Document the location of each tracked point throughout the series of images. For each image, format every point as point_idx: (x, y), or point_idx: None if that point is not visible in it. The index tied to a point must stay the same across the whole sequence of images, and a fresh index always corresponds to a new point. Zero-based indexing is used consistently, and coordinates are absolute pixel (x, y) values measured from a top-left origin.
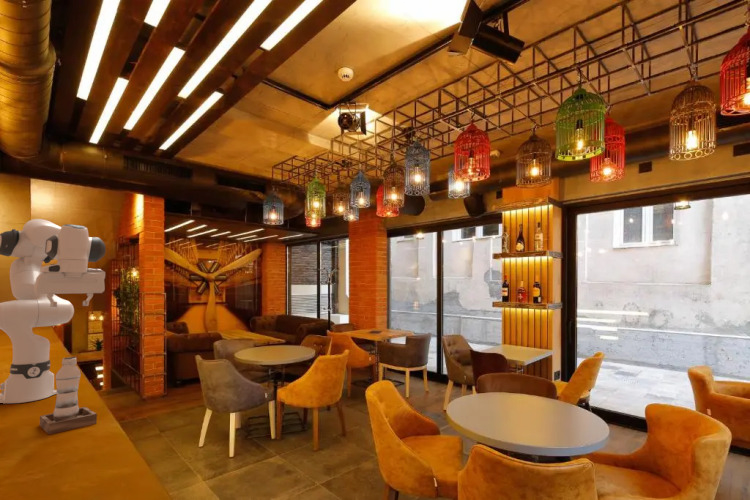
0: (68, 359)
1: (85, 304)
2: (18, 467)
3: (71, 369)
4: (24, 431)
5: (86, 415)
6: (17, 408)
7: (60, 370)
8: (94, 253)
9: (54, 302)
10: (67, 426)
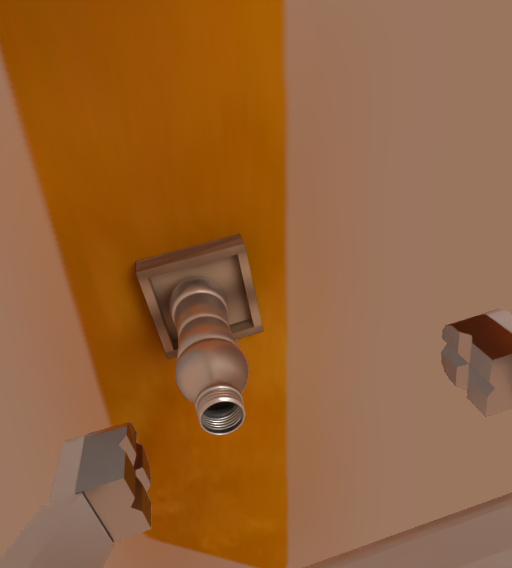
0: (218, 433)
1: (465, 375)
2: None
3: (223, 407)
4: (108, 290)
5: (241, 332)
6: None
7: (191, 400)
8: None
9: (119, 530)
10: None
